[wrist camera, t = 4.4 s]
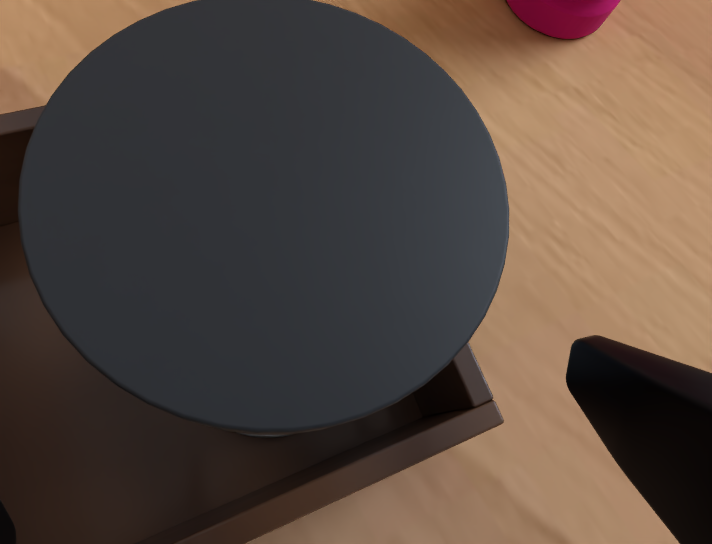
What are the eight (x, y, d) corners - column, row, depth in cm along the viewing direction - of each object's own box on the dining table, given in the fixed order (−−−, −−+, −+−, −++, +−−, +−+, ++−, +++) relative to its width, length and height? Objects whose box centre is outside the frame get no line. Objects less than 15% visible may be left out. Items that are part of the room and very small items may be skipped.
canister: (328, 467, 18) (451, 510, 6) (142, 404, 17) (-105, 321, 6) (383, 293, 20) (545, 85, 9) (220, 234, 20) (158, -67, 8)
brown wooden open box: (317, 139, 23) (333, 46, 17) (440, 428, 20) (506, 422, 14) (-158, 259, 18) (-337, 181, 13) (-98, 670, 15) (-304, 799, 9)
